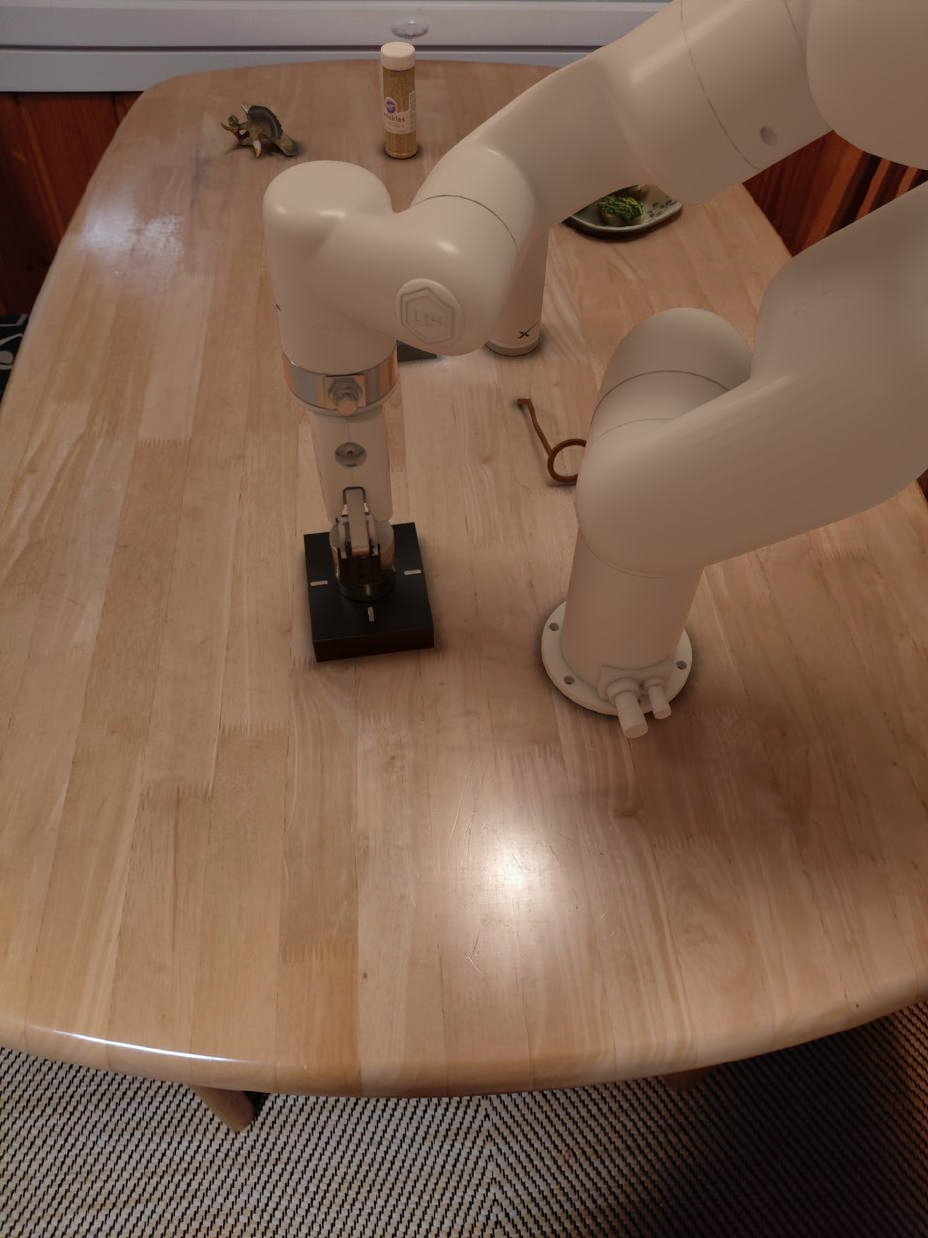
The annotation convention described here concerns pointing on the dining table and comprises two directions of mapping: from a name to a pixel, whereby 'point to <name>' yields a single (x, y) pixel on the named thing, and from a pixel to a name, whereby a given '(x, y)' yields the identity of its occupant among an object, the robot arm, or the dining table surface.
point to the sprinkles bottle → (399, 98)
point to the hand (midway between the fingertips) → (355, 535)
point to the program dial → (387, 564)
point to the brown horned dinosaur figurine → (261, 129)
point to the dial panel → (368, 604)
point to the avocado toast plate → (624, 212)
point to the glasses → (549, 451)
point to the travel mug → (524, 306)
